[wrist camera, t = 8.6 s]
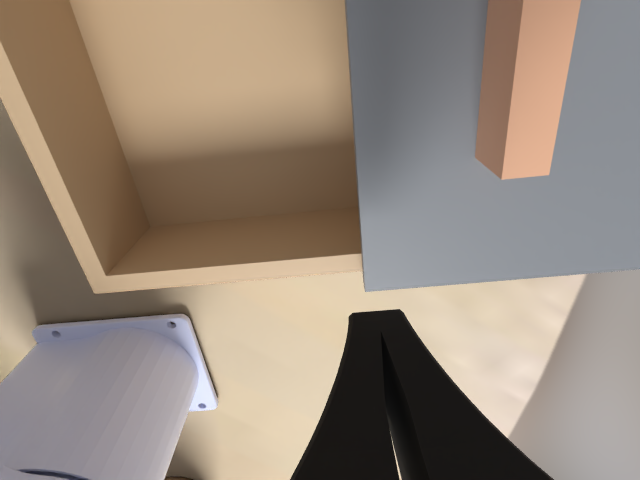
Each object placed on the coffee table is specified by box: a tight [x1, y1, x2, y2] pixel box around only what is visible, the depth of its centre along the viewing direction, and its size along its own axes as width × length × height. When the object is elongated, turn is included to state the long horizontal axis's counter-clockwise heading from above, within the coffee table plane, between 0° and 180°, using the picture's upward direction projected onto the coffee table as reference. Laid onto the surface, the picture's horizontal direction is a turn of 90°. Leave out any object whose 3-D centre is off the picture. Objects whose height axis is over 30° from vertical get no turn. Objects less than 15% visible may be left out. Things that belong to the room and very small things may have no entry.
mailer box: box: [0, 0, 363, 294], centre depth 13 cm, size 14×18×5 cm
